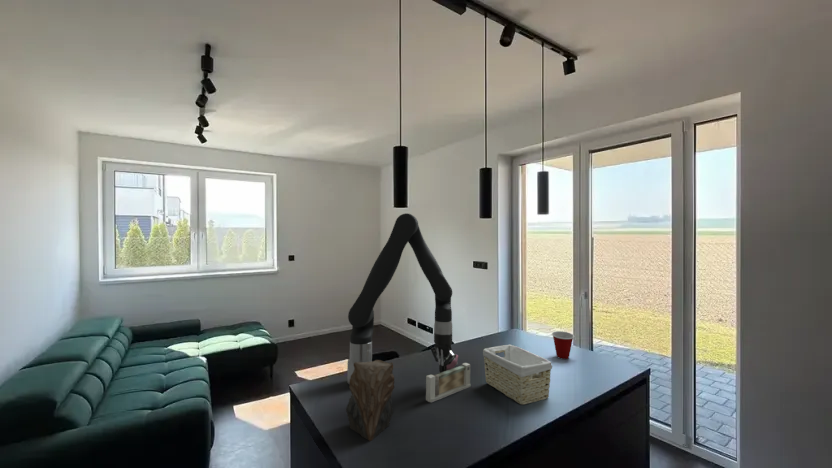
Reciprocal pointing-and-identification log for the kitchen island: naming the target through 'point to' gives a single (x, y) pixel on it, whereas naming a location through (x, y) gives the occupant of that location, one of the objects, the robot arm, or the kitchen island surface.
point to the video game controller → (452, 363)
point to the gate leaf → (449, 379)
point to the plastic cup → (562, 343)
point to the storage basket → (518, 373)
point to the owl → (370, 398)
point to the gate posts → (431, 390)
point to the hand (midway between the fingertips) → (442, 373)
